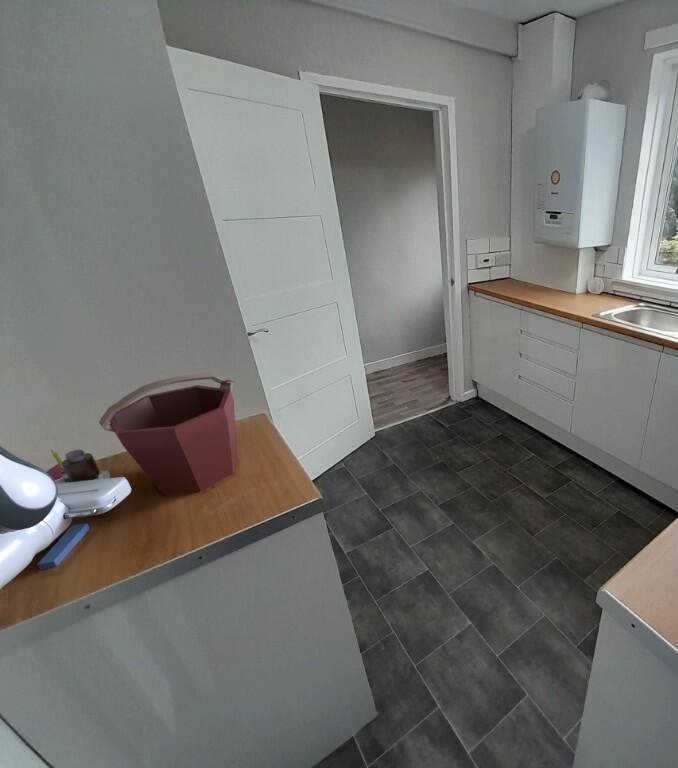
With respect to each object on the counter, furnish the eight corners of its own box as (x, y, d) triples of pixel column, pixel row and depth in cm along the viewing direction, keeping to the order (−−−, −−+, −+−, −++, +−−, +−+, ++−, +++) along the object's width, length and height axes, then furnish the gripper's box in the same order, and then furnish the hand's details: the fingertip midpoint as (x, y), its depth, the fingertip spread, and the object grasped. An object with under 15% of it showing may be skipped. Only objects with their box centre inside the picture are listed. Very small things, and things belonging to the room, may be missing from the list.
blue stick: (59, 571, 74) (53, 561, 73) (42, 574, 73) (36, 564, 72) (92, 532, 82) (87, 522, 81) (77, 534, 82) (72, 525, 81)
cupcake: (99, 492, 93) (76, 448, 88) (47, 506, 89) (19, 461, 84) (106, 473, 100) (85, 431, 94) (58, 485, 95) (32, 442, 90)
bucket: (250, 437, 115) (225, 354, 104) (264, 477, 99) (235, 385, 88) (137, 469, 101) (94, 378, 90) (132, 521, 85) (79, 418, 75)
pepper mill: (88, 518, 84) (58, 461, 79) (85, 508, 87) (57, 453, 81) (116, 508, 87) (90, 452, 82) (113, 498, 90) (88, 444, 84)
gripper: (96, 499, 73) (141, 456, 86) (-47, 515, 69) (22, 468, 81) (110, 526, 76) (152, 481, 88) (-28, 543, 71) (36, 493, 84)
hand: (88, 474), depth 85 cm, fingers closed on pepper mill, 4 cm apart
